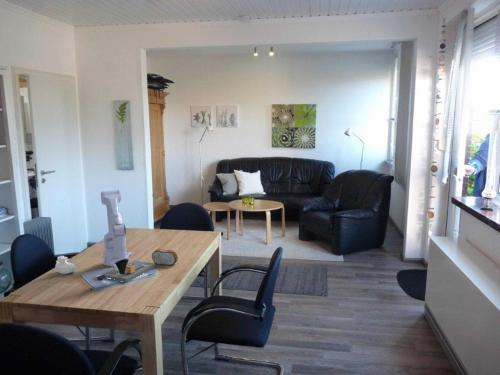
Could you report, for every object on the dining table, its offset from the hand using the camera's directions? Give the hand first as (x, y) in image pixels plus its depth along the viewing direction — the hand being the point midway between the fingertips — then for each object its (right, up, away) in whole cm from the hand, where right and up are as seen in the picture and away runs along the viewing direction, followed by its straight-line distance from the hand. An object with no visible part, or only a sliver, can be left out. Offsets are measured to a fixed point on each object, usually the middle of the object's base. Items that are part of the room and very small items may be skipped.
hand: (122, 273), depth 207 cm
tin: (+17, 0, +22) cm, 28 cm away
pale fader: (-4, 0, +8) cm, 9 cm away
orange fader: (+3, 0, +6) cm, 6 cm away
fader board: (+1, -2, +11) cm, 11 cm away
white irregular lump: (-35, -3, +13) cm, 37 cm away
